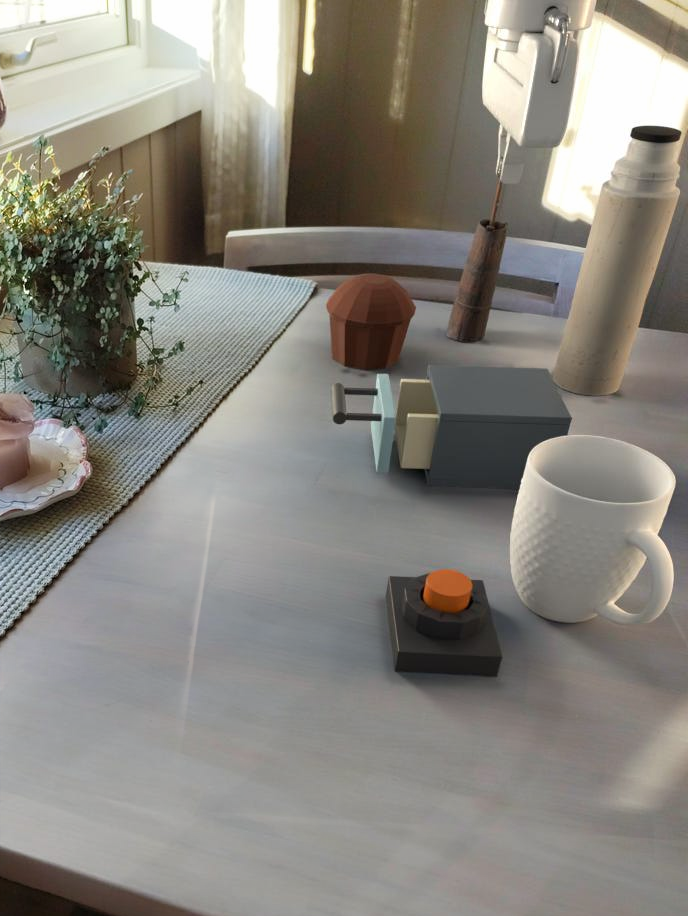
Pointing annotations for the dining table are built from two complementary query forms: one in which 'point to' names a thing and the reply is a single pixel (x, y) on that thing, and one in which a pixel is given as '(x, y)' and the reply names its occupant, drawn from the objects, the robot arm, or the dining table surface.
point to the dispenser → (491, 423)
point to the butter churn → (478, 279)
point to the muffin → (369, 321)
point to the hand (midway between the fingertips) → (506, 180)
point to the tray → (395, 420)
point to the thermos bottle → (619, 263)
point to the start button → (447, 591)
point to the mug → (590, 529)
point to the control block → (441, 632)
